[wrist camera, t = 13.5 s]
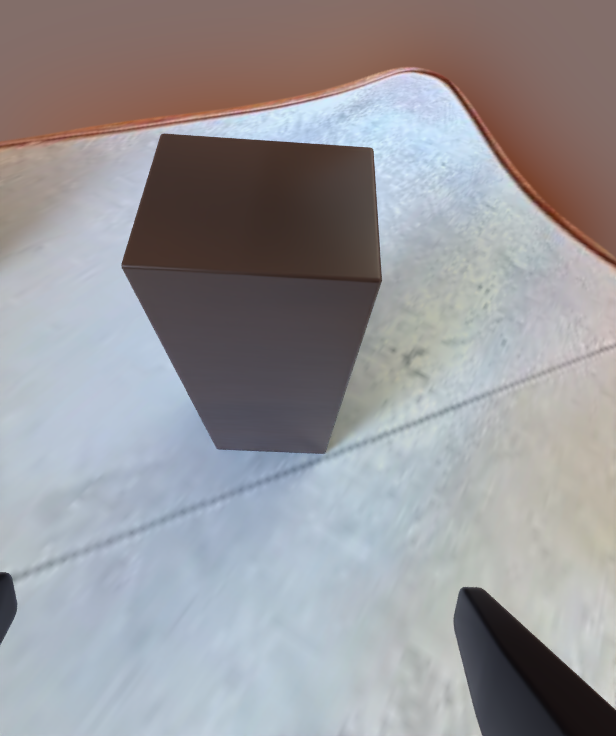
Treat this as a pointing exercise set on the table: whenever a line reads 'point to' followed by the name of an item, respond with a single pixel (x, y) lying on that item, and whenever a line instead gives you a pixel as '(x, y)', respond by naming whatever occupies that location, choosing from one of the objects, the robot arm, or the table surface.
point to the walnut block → (259, 280)
